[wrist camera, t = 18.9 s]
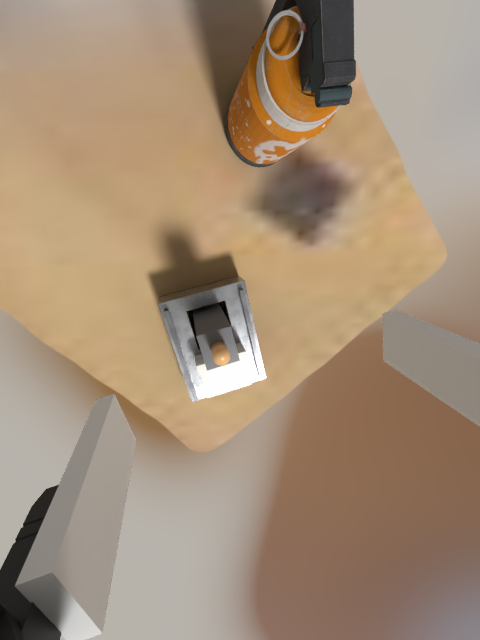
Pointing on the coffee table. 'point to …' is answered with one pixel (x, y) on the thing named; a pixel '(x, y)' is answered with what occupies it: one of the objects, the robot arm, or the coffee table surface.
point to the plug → (215, 336)
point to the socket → (184, 336)
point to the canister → (293, 79)
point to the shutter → (224, 374)
